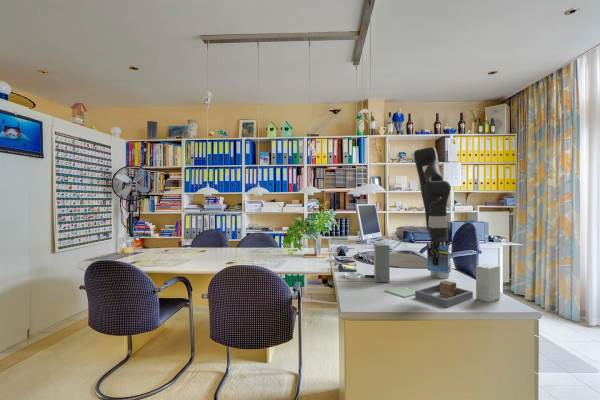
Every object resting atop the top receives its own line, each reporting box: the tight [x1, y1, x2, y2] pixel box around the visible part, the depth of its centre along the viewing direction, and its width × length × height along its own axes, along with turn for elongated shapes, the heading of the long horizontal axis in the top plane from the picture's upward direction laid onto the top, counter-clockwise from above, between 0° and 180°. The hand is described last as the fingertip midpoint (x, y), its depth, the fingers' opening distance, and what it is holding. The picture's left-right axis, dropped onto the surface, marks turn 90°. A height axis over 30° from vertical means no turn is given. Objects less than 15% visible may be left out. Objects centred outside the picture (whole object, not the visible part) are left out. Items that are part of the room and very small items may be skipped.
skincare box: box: [475, 263, 501, 303], centre depth 129 cm, size 8×6×15 cm
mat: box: [383, 285, 417, 298], centre depth 140 cm, size 12×12×1 cm
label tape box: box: [426, 245, 452, 274], centre depth 129 cm, size 9×4×12 cm, turn 46°
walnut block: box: [439, 280, 457, 298], centre depth 135 cm, size 5×5×6 cm
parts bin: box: [414, 283, 474, 308], centre depth 131 cm, size 20×15×3 cm
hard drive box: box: [373, 241, 390, 283], centre depth 164 cm, size 16×8×20 cm, turn 168°
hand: (438, 264), depth 129 cm, fingers closed on label tape box, 4 cm apart
